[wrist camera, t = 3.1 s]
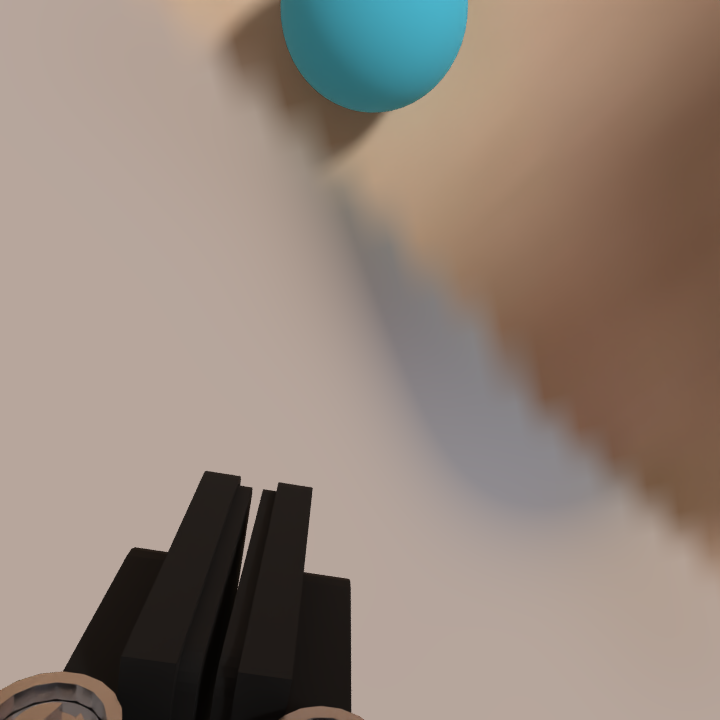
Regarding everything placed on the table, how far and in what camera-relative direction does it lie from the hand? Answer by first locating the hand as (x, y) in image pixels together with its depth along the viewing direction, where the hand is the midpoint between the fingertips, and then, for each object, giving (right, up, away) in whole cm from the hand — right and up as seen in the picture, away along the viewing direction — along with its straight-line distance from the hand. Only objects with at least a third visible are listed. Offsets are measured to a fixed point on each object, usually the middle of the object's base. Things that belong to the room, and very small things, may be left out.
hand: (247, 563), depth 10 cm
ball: (+2, +12, +8) cm, 15 cm away
